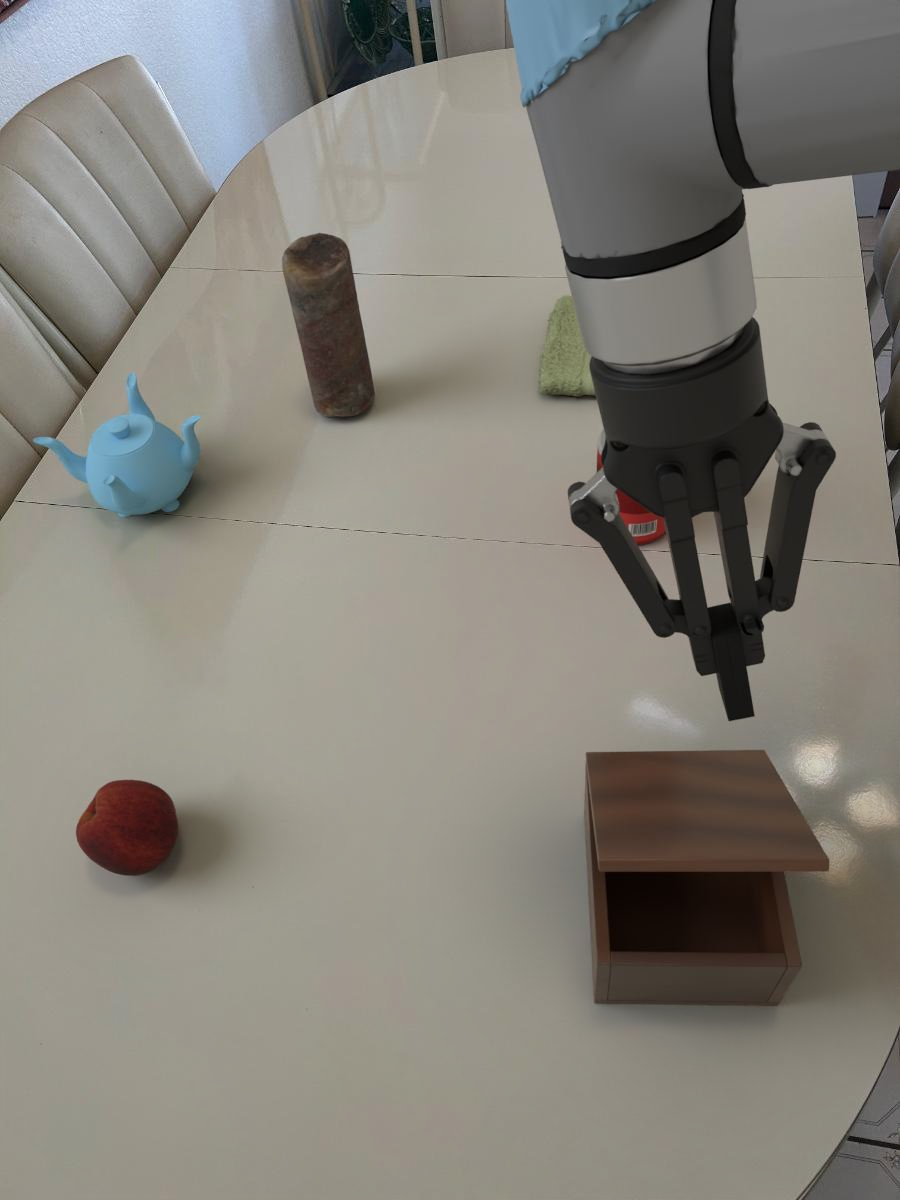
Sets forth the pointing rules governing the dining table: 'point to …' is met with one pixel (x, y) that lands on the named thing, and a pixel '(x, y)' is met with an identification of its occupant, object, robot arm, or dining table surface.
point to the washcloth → (565, 354)
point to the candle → (329, 324)
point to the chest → (689, 935)
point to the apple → (128, 827)
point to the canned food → (634, 510)
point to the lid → (697, 814)
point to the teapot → (134, 460)
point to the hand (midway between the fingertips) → (736, 702)
